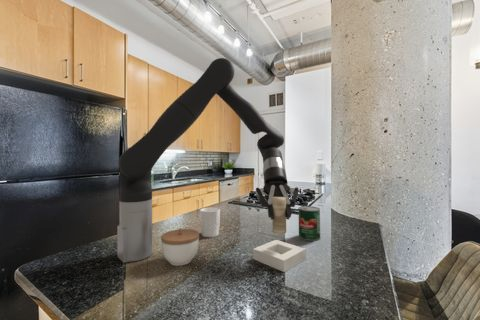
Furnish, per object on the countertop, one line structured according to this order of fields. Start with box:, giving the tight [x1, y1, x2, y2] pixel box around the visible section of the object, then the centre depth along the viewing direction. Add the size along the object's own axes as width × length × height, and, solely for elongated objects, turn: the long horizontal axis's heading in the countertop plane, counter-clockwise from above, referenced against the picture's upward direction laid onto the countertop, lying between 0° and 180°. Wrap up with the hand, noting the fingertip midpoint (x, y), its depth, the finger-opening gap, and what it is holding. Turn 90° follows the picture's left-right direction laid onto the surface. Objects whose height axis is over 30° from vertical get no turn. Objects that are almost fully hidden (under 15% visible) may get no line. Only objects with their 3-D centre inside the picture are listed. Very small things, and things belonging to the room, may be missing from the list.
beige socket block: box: [252, 239, 307, 273], centre depth 66 cm, size 11×11×3 cm
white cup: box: [199, 206, 221, 238], centre depth 88 cm, size 8×8×10 cm
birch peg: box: [271, 197, 287, 235], centre depth 66 cm, size 4×4×10 cm
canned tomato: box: [297, 205, 322, 242], centre depth 85 cm, size 8×8×11 cm
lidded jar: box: [160, 227, 200, 267], centre depth 65 cm, size 11×11×9 cm
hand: (280, 217), depth 64 cm, fingers closed on birch peg, 4 cm apart
